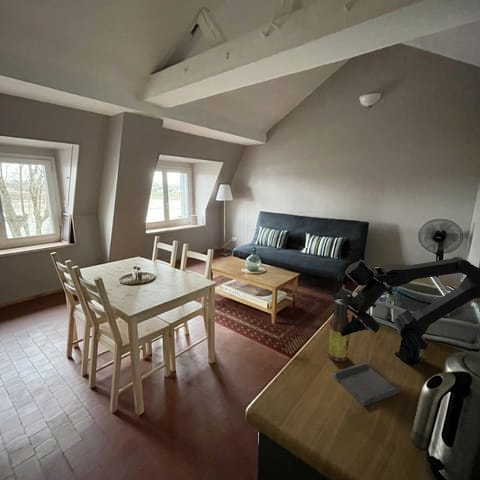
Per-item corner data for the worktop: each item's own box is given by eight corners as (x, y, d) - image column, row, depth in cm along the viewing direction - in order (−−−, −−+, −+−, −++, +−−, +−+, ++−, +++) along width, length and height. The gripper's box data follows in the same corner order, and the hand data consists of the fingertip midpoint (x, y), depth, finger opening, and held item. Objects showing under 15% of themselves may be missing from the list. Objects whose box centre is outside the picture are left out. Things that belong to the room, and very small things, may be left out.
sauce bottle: (349, 364, 85) (354, 307, 81) (329, 361, 86) (333, 305, 82) (345, 351, 91) (350, 298, 87) (326, 349, 93) (330, 297, 88)
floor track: (367, 366, 84) (367, 361, 84) (400, 392, 73) (400, 387, 73) (333, 376, 80) (334, 371, 79) (363, 406, 69) (364, 400, 69)
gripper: (338, 271, 93) (307, 303, 93) (375, 291, 75) (337, 331, 75) (355, 290, 96) (326, 321, 96) (395, 314, 78) (359, 352, 78)
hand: (335, 329), depth 86 cm, fingers closed on sauce bottle, 6 cm apart
